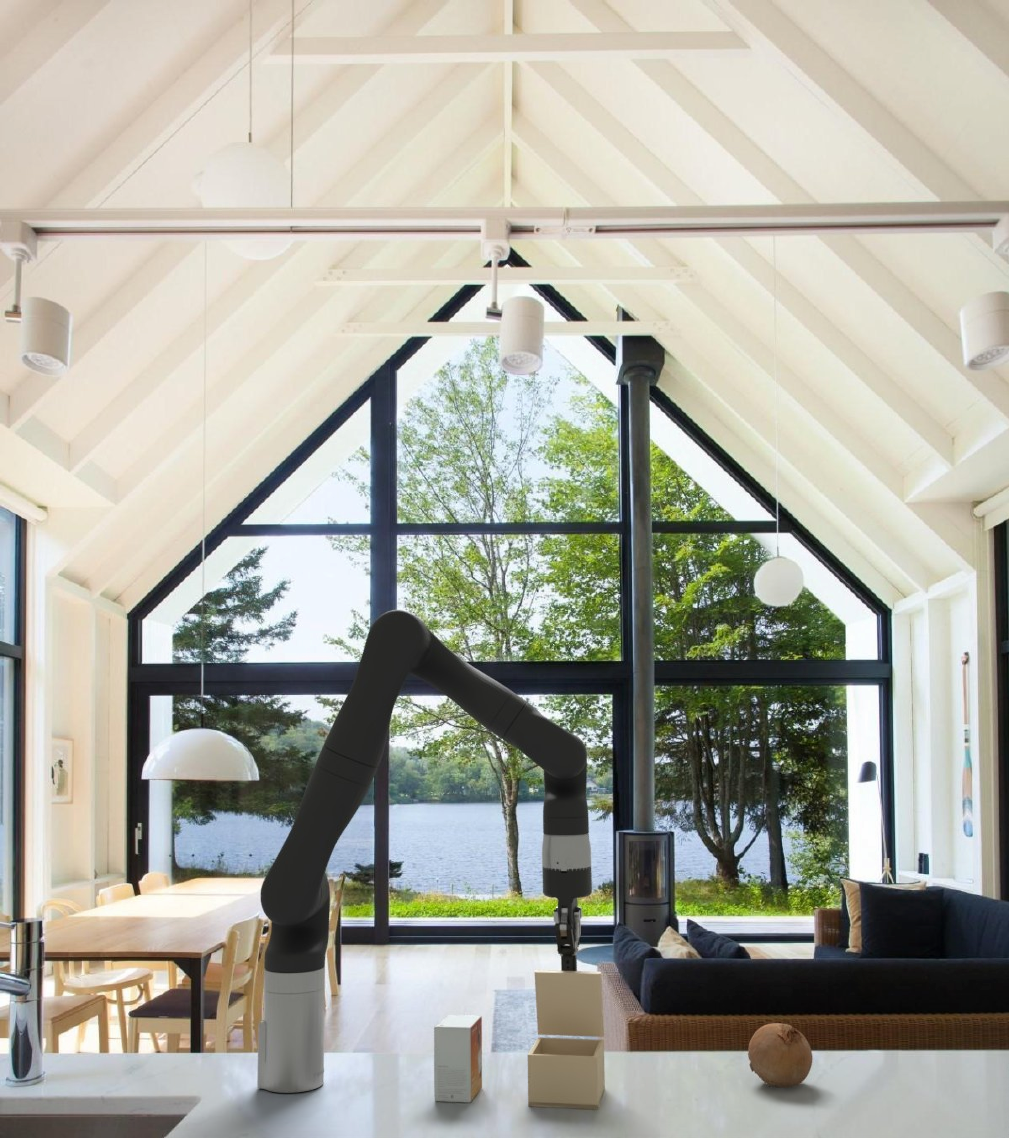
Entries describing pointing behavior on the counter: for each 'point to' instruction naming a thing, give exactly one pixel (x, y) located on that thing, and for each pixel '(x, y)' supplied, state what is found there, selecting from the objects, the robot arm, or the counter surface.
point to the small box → (458, 1058)
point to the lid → (569, 1003)
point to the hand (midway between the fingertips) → (569, 980)
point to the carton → (566, 1073)
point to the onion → (780, 1055)
